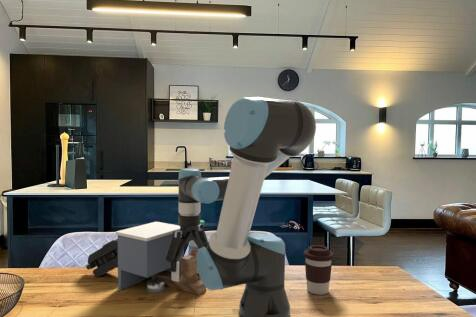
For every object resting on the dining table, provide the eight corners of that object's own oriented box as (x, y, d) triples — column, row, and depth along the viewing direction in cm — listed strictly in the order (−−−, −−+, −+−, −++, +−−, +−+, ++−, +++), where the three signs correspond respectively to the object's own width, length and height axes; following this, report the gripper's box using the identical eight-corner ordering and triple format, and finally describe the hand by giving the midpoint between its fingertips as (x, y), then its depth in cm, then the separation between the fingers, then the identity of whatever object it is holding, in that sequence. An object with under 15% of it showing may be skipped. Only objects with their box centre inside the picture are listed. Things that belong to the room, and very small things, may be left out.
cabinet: (185, 280, 130) (185, 226, 130) (146, 299, 114) (146, 238, 113) (156, 272, 138) (156, 221, 138) (115, 289, 122) (115, 231, 121)
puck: (168, 288, 124) (168, 280, 124) (156, 294, 118) (156, 286, 118) (155, 284, 127) (155, 277, 126) (143, 291, 121) (142, 283, 121)
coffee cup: (308, 283, 130) (309, 242, 129) (336, 289, 125) (337, 246, 124) (298, 292, 121) (299, 249, 121) (327, 299, 116) (328, 254, 115)
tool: (136, 273, 129) (118, 236, 130) (95, 295, 133) (77, 259, 134) (144, 267, 135) (126, 232, 136) (105, 288, 139) (87, 254, 140)
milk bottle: (186, 269, 142) (186, 219, 142) (204, 266, 146) (204, 218, 145) (191, 275, 135) (192, 223, 135) (210, 272, 139) (211, 222, 138)
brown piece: (206, 290, 122) (206, 259, 122) (198, 294, 119) (199, 262, 118) (159, 277, 134) (159, 248, 133) (151, 280, 130) (151, 251, 130)
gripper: (203, 206, 135) (202, 261, 136) (154, 218, 114) (154, 283, 115) (219, 209, 131) (218, 265, 132) (172, 222, 110) (171, 289, 111)
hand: (188, 274), depth 124 cm, fingers open, 13 cm apart
